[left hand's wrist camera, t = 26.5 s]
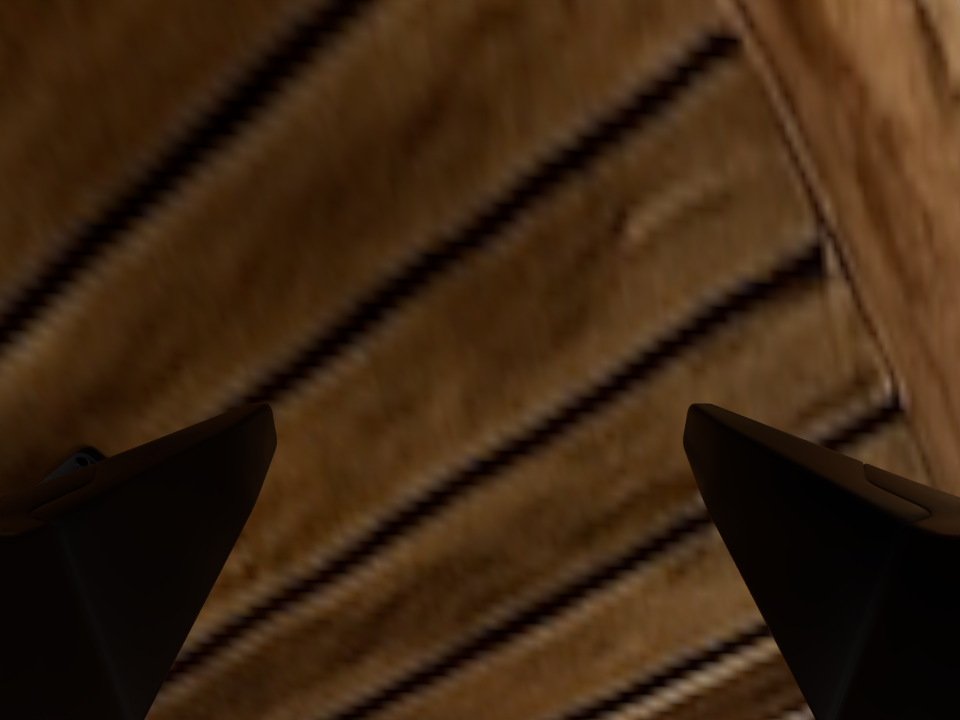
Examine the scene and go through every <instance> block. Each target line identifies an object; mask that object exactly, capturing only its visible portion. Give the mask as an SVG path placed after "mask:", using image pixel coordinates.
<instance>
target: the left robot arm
mask: <svg viewBox="0 0 960 720" xmlns="http://www.w3.org/2000/svg"><path fill="white" fill-rule="evenodd" d="M276 446H277V436H276V430H275V424H274V418H273V412H272V409H271V407H270V406H269V405H268V404H265V403H264V404H247V405H245V406H242V407H239V408H237V409H234V410H232V411H229V412H226V413H224V414H221V415H219V416H216V417H213V418H211V419H208V420H206V421H203V422H200V423H198V424H195V425H193V426H190V427H187V428H185V429H182V430H179V431H177V432H174V433H172V434H169V435H166V436H164V437H161V438H159V439H156V440H153V441H151V442H148V443H146V444H143V445H140V446H138V447H135V448H133V449H130V450H127V451H125V452H122V453H120V454H117V455H114V456H112V457H109V458H107V459H104V458H102V457H101V456H100V455H99V454H98V453H96V452H95V451H93V450H92V449H88V448H82V449H80V450H79V451H77V452H76V453H75V454H73V455H72V456H71V457H70V458H69V459H67V460H66V461H65V462H64V463H63V464H61V465H60V466H59V467H58V468H57V469H56V470H54V471H53V472H52V473H51V474H50V475H48V476H47V477H46V478H45V479H44V480H43V481H41V482H40V483H39V484H37V485H34V486H31V487H29V488H26V489H23V490H20V491H17V492H14V493H11V494H9V495H6V496H3V497H0V720H144V719H145V717H146V715H147V713H148V711H149V709H150V707H151V706H152V704H153V702H154V700H155V698H156V696H157V694H158V692H159V690H160V688H161V686H162V684H163V682H164V680H165V678H166V676H167V675H168V673H169V671H170V669H171V667H172V665H173V663H174V661H175V659H176V657H177V655H178V653H179V651H180V649H181V647H182V645H183V644H184V642H185V640H186V638H187V636H188V634H189V632H190V630H191V628H192V626H193V624H194V622H195V620H196V618H197V616H198V615H199V613H200V611H201V609H202V607H203V605H204V603H205V601H206V599H207V597H208V595H209V593H210V591H211V589H212V587H213V585H214V584H215V582H216V580H217V578H218V576H219V574H220V572H221V570H222V568H223V566H224V564H225V562H226V560H227V558H228V556H229V555H230V553H231V551H232V549H233V547H234V545H235V543H236V541H237V539H238V537H239V535H240V533H241V531H242V529H243V527H244V525H245V524H246V522H247V520H248V518H249V516H250V514H251V512H252V510H253V508H254V506H255V503H256V501H257V498H258V496H259V493H260V490H261V488H262V485H263V482H264V480H265V477H266V474H267V471H268V469H269V466H270V463H271V461H272V458H273V455H274V452H275V450H276ZM683 446H684V450H685V452H686V455H687V458H688V461H689V463H690V466H691V469H692V471H693V474H694V477H695V480H696V482H697V485H698V488H699V490H700V493H701V496H702V498H703V501H704V503H705V506H706V508H707V510H708V512H709V514H710V516H711V518H712V520H713V522H714V524H715V525H716V527H717V529H718V531H719V533H720V535H721V537H722V539H723V541H724V543H725V545H726V547H727V549H728V551H729V553H730V555H731V556H732V558H733V560H734V562H735V564H736V566H737V568H738V570H739V572H740V574H741V576H742V578H743V580H744V582H745V584H746V585H747V587H748V589H749V591H750V593H751V595H752V597H753V599H754V601H755V603H756V605H757V607H758V609H759V611H760V613H761V615H762V616H763V618H764V620H765V622H766V624H767V626H768V628H769V630H770V632H771V634H772V636H773V638H774V640H775V642H776V644H777V645H778V647H779V649H780V651H781V653H782V655H783V657H784V659H785V661H786V663H787V665H788V667H789V669H790V671H791V673H792V675H793V676H794V678H795V680H796V682H797V684H798V686H799V688H800V690H801V692H802V694H803V696H804V698H805V700H806V702H807V704H808V706H809V707H810V709H811V711H812V713H813V715H814V717H815V719H816V720H960V497H957V496H954V495H951V494H949V493H946V492H943V491H940V490H937V489H934V488H931V487H929V486H926V485H923V484H920V483H917V482H914V481H912V480H909V479H906V478H904V477H901V476H898V475H896V474H893V473H890V472H888V471H885V470H882V469H880V468H877V467H874V466H872V465H869V464H864V465H863V462H861V461H859V460H856V459H853V458H851V457H848V456H846V455H843V454H840V453H838V452H835V451H833V450H830V449H827V448H825V447H822V446H820V445H817V444H814V443H812V442H809V441H807V440H804V439H801V438H799V437H796V436H794V435H791V434H788V433H786V432H783V431H781V430H778V429H775V428H773V427H770V426H767V425H765V424H762V423H760V422H757V421H754V420H752V419H749V418H747V417H744V416H741V415H739V414H736V413H734V412H731V411H728V410H726V409H723V408H721V407H718V406H715V405H713V404H692V405H691V406H690V407H689V409H688V412H687V418H686V424H685V430H684V436H683ZM83 458H84V459H86V460H87V461H88V462H87V461H85V460H84V459H83Z"/></svg>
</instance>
